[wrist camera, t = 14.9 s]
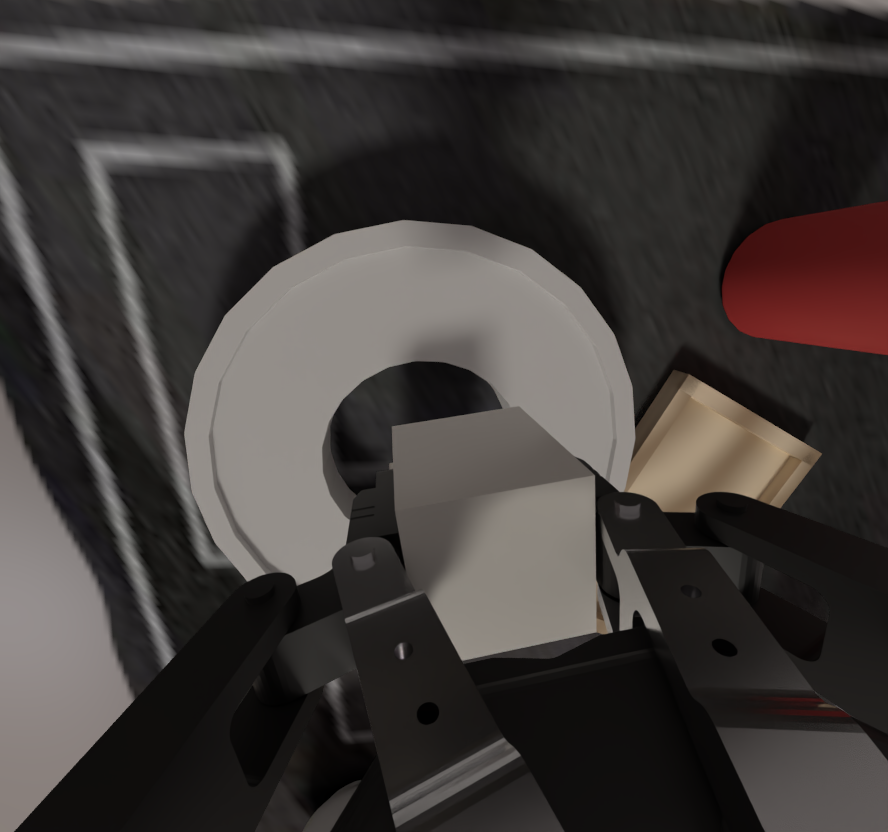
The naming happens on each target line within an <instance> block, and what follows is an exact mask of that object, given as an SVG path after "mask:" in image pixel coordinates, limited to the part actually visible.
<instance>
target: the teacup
mask: <svg viewBox="0 0 888 832" xmlns="http://www.w3.org/2000/svg"><path fill="white" fill-rule="evenodd" d="M360 782H361V780H358V781H355V782H352V783H350V784H348V785H346V786H344V787H343V788H341V789H340V790H338V791H337V792H336V793H335V794H333V795H332V796H331V797H330V798H329V799H328V800H327V801H326V802H325V803H324V804H323V805H321V806H320V807H319V808H318V809H317V810H316V812H315V813H314V814H313V815H312V817H311V818H310V820H309V821H308V823H307V824H306V826H305V828H304V830H303V832H330V831H331V829H332V828H333V826H334V825H335V823H336V821H337V820H338V818H339V816H340V815H341V813H342V811H343V810H344V808H345V806H346V805H347V803H348V801H349V800H350V798H351V796H352V795H353V793H354V792H355V790H356V788H357V787H358V785H359V783H360Z"/></svg>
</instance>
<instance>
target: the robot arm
mask: <svg viewBox="0 0 888 832" xmlns="http://www.w3.org/2000/svg"><path fill="white" fill-rule="evenodd" d="M574 457H575V456H574ZM575 458H577V457H575ZM577 459H578V460H579V461H580V462H581V463H582V464H583V465H584V466H585V467H586V468H588V469H589V470H590V471H591V472H592V473H593V474H594V475H595V531H596V581H597V597H598V601H599V605H600V608H601V611H602V615H603V618H604V622H605V625H606V628H607V632H608V634H603V635H600V636H598V637H596V638H594V639H592V640H590V641H588V642H586V643H584V644H582V645H580V646H578V647H576V648H574V649H572V650H570V651H568V652H566V653H564V654H562V655H560V656H558V657H555V658H551V659H533V658H490V659H485V660H481V661H476V662H471V663H467V664H464V663H463V661H462V660H461V658H460V656H459V654H458V652H457V650H456V649H455V647H454V645H453V643H452V641H451V639H450V637H449V636H448V634H447V632H446V630H445V628H444V626H443V625H442V623H441V621H440V619H439V617H438V615H437V613H436V612H435V610H434V608H433V606H432V604H431V602H430V601H429V599H428V597H427V595H426V593H425V592H424V590H423V589H419V590H416V591H415V589H414V587H413V585H412V583H411V581H410V579H409V577H408V575H407V573H406V569H405V563H404V558H403V552H402V547H401V542H400V536H399V531H398V525H397V520H396V514H395V501H394V473H393V469H390V470H384V471H378V472H376V488H372V489H366V490H361V491H360V492H359V494H358V495H357V496H356V497H355V498H354V499H353V503H352V509H351V511H352V512H351V516H350V522H349V528H348V535H347V541H346V545H345V546H343V547H342V548H341V549H339V550H338V551H337V552H336V554H335V555H334V557H333V559H332V569H331V570H330V571H328V572H327V573H325V574H323V575H322V576H319V577H317V578H315V579H313V580H310V581H308V582H305V583H303V584H300V585H298V586H297V585H296V581H295V579H294V578H293V577H292V576H291V575H289V574H287V573H282V572H275V573H268V574H264V575H261V576H258V577H256V578H254V579H252V580H250V581H248V582H246V583H245V584H243V585H242V586H240V587H239V588H238V589H237V590H235V591H234V592H233V593H232V594H231V596H230V597H229V598H228V599H227V600H226V601H225V602H224V603H223V604H222V605H221V606H220V608H219V609H218V610H217V611H216V612H215V613H214V614H213V615H212V616H211V617H210V618H209V620H208V621H207V622H206V623H205V624H204V625H203V626H202V627H201V628H200V629H199V630H198V632H197V633H196V634H195V635H194V636H193V637H192V638H191V639H190V640H189V641H188V643H187V644H186V645H185V646H184V647H183V648H182V649H181V650H180V651H179V652H178V653H177V655H176V656H175V657H174V658H173V659H172V660H171V661H170V662H169V663H168V664H167V665H166V667H165V668H164V669H163V670H162V671H161V672H160V673H159V674H158V675H157V676H156V677H155V679H154V680H153V681H152V682H151V683H150V684H149V685H148V686H147V687H146V688H145V689H144V691H143V692H142V693H141V694H140V695H139V696H138V697H137V698H136V699H135V700H134V701H133V703H132V704H131V705H130V706H129V707H128V708H127V709H126V710H125V711H124V712H123V713H122V715H121V716H120V717H119V718H118V719H117V720H116V721H115V722H114V723H113V724H112V726H111V727H110V728H109V729H108V730H107V731H106V732H105V733H104V734H103V735H102V737H100V739H99V740H98V741H97V742H96V743H95V744H94V745H93V746H92V747H91V748H90V750H89V751H88V752H87V753H86V754H85V755H84V756H83V757H82V758H81V759H80V760H79V761H78V763H77V764H76V765H75V766H74V767H73V768H72V769H71V770H70V772H68V773H67V775H66V776H65V777H64V778H63V779H62V780H61V781H60V782H59V783H58V785H57V786H56V787H55V788H54V789H53V790H52V791H51V792H50V793H49V794H48V795H47V796H46V798H45V799H44V800H43V801H42V802H41V803H40V804H39V805H38V806H37V807H36V808H35V809H34V811H33V812H32V813H31V814H30V815H29V816H28V817H27V818H26V819H25V820H24V822H23V823H22V824H21V825H20V826H19V827H18V828H17V829H16V830H15V831H14V832H255V830H256V828H257V826H258V823H259V821H260V819H261V817H262V815H263V813H264V811H265V809H266V807H267V805H268V803H269V801H270V799H271V797H272V795H273V793H274V791H275V789H276V787H277V785H278V783H279V781H280V779H281V777H282V775H283V773H284V770H285V768H286V766H287V764H288V762H289V760H290V758H291V756H292V754H293V752H294V750H295V748H296V746H297V744H298V742H299V740H300V738H301V736H302V734H303V732H304V730H305V728H306V726H307V724H308V722H309V720H310V718H311V715H312V713H313V711H314V709H315V707H316V705H317V703H318V701H319V699H320V697H321V695H322V692H323V688H324V685H325V684H327V683H329V682H331V681H333V680H335V679H337V678H339V677H341V676H342V675H344V674H346V673H348V672H350V671H352V670H354V669H356V668H357V671H358V676H359V680H360V684H361V688H362V692H363V696H364V700H365V704H366V708H367V713H368V717H369V721H370V725H371V729H372V733H373V737H374V741H375V745H376V750H377V755H376V757H375V758H374V760H373V762H372V763H371V765H370V767H369V768H368V770H367V772H366V773H365V775H364V777H363V778H362V780H361V782H360V783H359V785H358V787H357V788H356V790H355V792H354V793H353V795H352V796H351V798H350V800H349V801H348V803H347V805H346V806H345V808H344V810H343V811H342V813H341V815H340V816H339V818H338V820H337V821H336V823H335V825H334V826H333V828H332V829H331V831H330V832H888V548H886V547H883V546H880V545H878V544H875V543H872V542H869V541H867V540H864V539H861V538H859V537H856V536H853V535H851V534H848V533H845V532H842V531H840V530H837V529H834V528H832V527H829V526H826V525H824V524H821V523H818V522H815V521H813V520H810V519H807V518H805V517H802V516H799V515H797V514H794V513H791V512H788V511H786V510H783V509H780V508H778V507H775V506H772V505H770V504H767V503H764V502H761V501H759V500H756V499H753V498H751V497H748V496H745V495H741V494H736V493H730V492H710V493H706V494H703V495H701V496H699V497H698V498H697V500H696V508H695V512H662V510H661V509H660V507H659V506H658V504H657V503H656V502H655V501H653V500H652V499H650V498H648V497H646V496H643V495H640V494H636V493H631V492H619V491H618V490H617V489H616V488H615V487H614V486H613V485H611V484H610V483H609V482H608V481H607V480H606V479H605V478H604V477H602V476H600V474H599V473H598V472H597V471H596V470H593V468H592V467H591V466H590V465H589V464H588V463H587V462H585V461H584V460H582V459H580V458H577ZM763 564H766V565H768V566H770V567H772V568H774V569H776V570H778V571H780V572H782V573H784V574H787V575H789V576H791V577H793V578H795V579H797V580H799V581H801V582H803V583H805V584H807V585H809V586H811V587H813V588H814V589H816V590H817V591H818V592H819V593H820V594H821V595H822V596H823V597H824V598H825V600H826V601H827V603H828V605H829V609H830V614H829V619H828V623H826V622H824V621H823V620H821V619H819V618H817V617H815V616H813V615H811V614H809V613H808V612H806V611H804V610H802V609H800V608H798V607H796V606H795V605H793V604H791V603H789V602H787V601H785V600H783V599H781V598H780V597H778V596H776V595H774V594H772V593H770V592H768V591H766V590H765V589H763V588H761V587H760V585H761V578H762V571H763ZM252 684H253V686H252V687H251V685H252ZM250 687H251V689H250V690H249V688H250ZM248 690H249V692H248V693H247V691H248ZM815 691H816V692H817V693H819V694H820V695H822V696H823V697H825V698H826V699H828V700H829V701H831V702H832V703H834V704H835V705H837V706H838V707H840V708H841V709H843V710H844V711H846V712H847V713H849V714H850V715H852V716H853V717H855V718H856V719H855V718H853V717H851V716H849V715H848V714H847V713H845V712H844V711H842V710H841V709H839V708H837V707H835V706H832V705H830V704H828V703H826V702H824V701H823V700H822V699H821V698H820V697H819V696H818V695H817V694H816V693H815ZM246 693H247V695H246V696H245V694H246ZM244 696H245V698H244V699H243V697H244ZM242 699H243V701H242V702H241V700H242ZM240 702H241V704H240V705H239V703H240ZM238 705H239V707H238V708H237V706H238ZM236 708H237V710H236ZM235 710H236V711H235ZM234 712H235V713H234Z"/></svg>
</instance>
